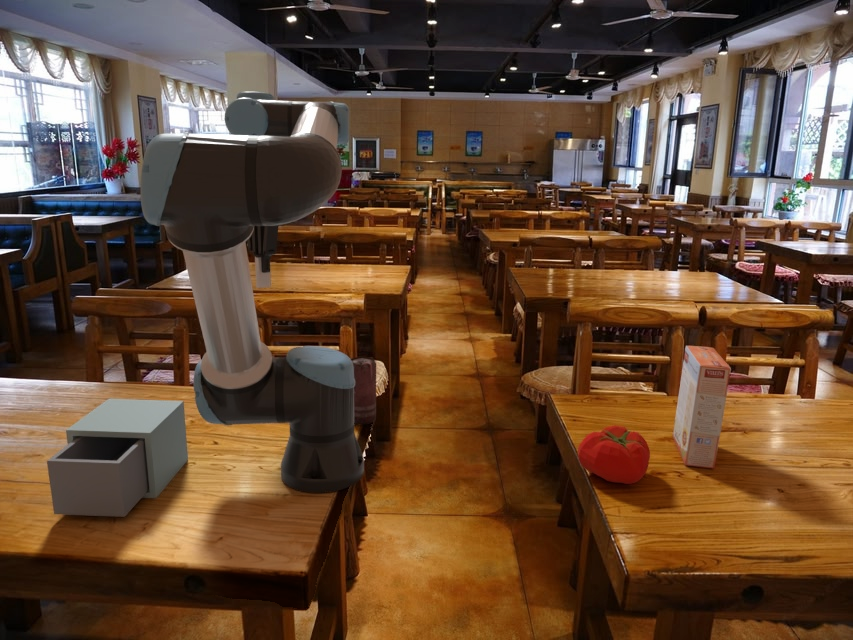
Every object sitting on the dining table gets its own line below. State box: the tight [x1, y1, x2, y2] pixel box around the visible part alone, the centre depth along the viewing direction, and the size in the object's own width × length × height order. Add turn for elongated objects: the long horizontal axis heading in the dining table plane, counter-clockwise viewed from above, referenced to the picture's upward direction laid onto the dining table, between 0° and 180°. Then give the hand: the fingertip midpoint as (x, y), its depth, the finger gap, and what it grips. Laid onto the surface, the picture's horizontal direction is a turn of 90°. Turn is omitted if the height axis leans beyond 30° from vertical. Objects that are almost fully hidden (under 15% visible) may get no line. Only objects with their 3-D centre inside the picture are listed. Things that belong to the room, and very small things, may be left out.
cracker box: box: [672, 345, 732, 469], centre depth 127 cm, size 14×6×21 cm, turn 168°
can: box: [350, 356, 377, 426], centre depth 139 cm, size 6×6×14 cm
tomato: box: [577, 425, 651, 485], centre depth 117 cm, size 14×13×9 cm
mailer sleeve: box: [65, 398, 189, 499], centre depth 113 cm, size 14×14×12 cm
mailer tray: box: [46, 436, 149, 518], centre depth 110 cm, size 24×11×9 cm, turn 179°
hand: (263, 286), depth 135 cm, fingers closed
